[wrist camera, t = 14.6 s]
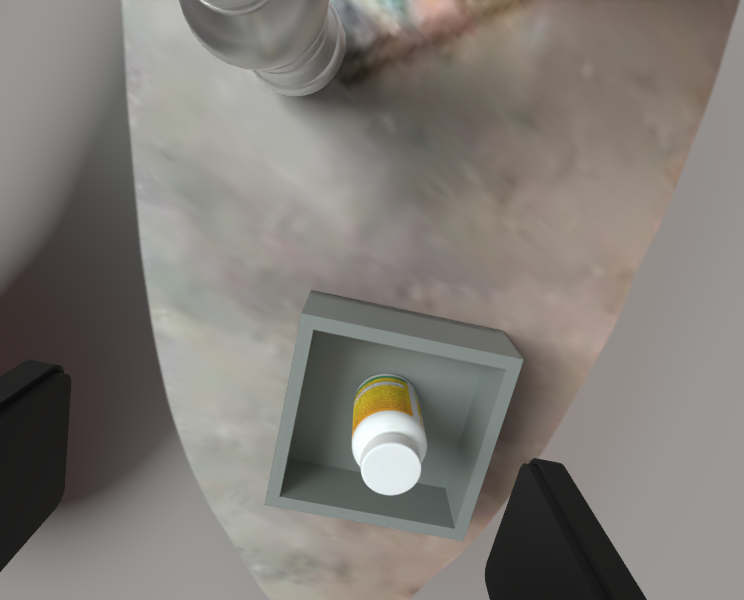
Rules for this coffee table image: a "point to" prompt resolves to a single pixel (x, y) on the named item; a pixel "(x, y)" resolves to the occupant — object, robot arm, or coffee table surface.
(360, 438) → the supplement bottle
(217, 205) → the coffee table surface
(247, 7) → the plastic bottle
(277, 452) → the tote
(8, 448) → the robot arm
